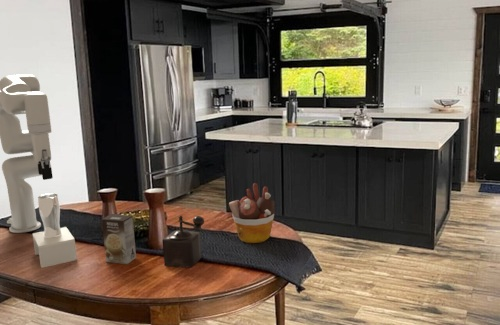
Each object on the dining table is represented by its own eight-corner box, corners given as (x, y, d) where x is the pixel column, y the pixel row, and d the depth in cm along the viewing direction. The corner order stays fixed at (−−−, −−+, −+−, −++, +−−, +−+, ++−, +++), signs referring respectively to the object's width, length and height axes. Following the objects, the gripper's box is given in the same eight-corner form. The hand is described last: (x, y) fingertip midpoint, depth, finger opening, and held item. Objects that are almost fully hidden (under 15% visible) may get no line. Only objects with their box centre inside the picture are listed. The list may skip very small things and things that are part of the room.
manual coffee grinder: (162, 266, 167) (158, 216, 163) (176, 254, 177) (172, 206, 174) (204, 270, 163) (201, 218, 159) (216, 257, 173) (213, 208, 169)
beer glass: (55, 239, 175) (50, 198, 172) (38, 238, 176) (33, 198, 173) (66, 232, 181) (62, 193, 178) (50, 231, 183) (45, 193, 180)
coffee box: (105, 262, 173) (100, 218, 170) (115, 255, 179) (111, 213, 175) (127, 264, 170) (123, 220, 167) (137, 257, 176) (133, 214, 172)
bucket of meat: (271, 248, 179) (270, 196, 175) (228, 247, 182) (225, 195, 178) (278, 229, 198) (277, 182, 194) (238, 228, 201) (236, 182, 197)
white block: (35, 253, 184) (32, 233, 182) (68, 246, 189) (66, 226, 188) (41, 268, 170) (38, 246, 168) (77, 259, 176) (74, 238, 174)
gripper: (25, 127, 176) (31, 173, 180) (31, 132, 161) (37, 182, 165) (47, 125, 180) (52, 170, 183) (55, 130, 165) (61, 179, 169)
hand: (45, 176), depth 174 cm, fingers open, 9 cm apart
